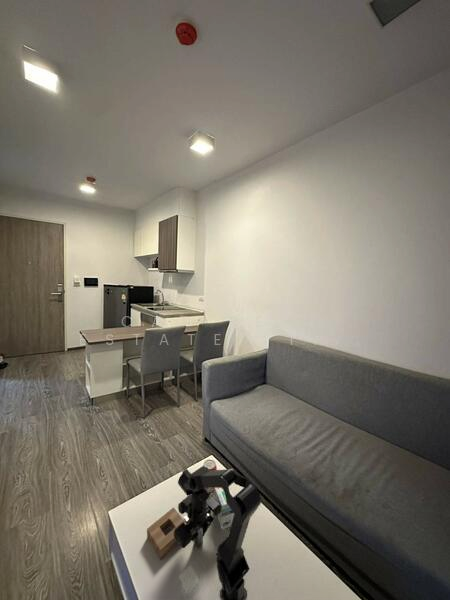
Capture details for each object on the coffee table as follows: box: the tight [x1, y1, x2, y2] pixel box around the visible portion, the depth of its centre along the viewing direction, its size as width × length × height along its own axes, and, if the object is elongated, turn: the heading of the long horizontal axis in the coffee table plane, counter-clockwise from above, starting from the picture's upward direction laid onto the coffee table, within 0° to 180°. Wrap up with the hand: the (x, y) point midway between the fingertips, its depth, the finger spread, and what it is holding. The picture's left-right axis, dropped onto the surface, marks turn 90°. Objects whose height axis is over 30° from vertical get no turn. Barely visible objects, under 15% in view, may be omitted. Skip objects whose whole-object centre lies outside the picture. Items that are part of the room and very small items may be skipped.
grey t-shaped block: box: [183, 513, 191, 523], centre depth 97 cm, size 7×6×2 cm
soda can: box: [202, 459, 218, 493], centre depth 112 cm, size 7×7×12 cm
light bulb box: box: [213, 485, 235, 530], centre depth 99 cm, size 11×7×11 cm, turn 22°
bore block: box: [146, 507, 188, 561], centre depth 91 cm, size 10×12×4 cm
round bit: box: [193, 524, 204, 549], centre depth 89 cm, size 3×3×7 cm
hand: (198, 539), depth 89 cm, fingers closed on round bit, 3 cm apart
